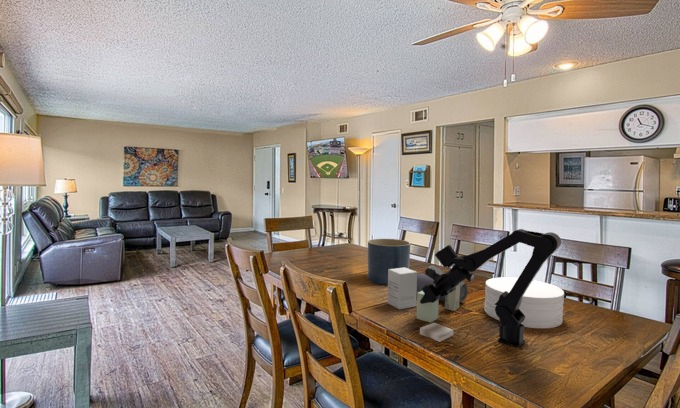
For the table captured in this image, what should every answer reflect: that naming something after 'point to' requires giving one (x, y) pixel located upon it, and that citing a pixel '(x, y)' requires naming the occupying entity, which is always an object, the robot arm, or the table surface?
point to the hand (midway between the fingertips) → (424, 300)
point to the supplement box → (402, 288)
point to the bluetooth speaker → (426, 280)
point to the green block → (426, 309)
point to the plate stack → (529, 302)
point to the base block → (436, 332)
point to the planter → (386, 258)
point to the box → (453, 299)
